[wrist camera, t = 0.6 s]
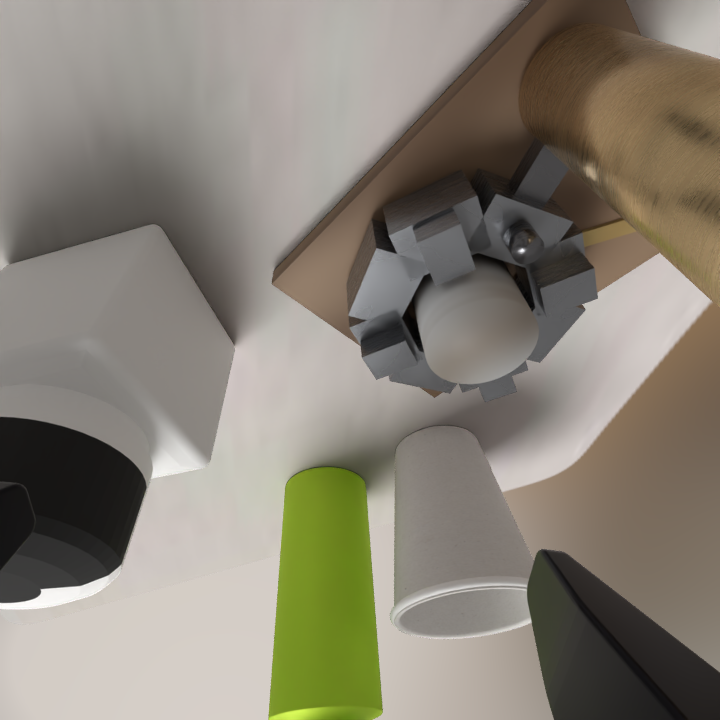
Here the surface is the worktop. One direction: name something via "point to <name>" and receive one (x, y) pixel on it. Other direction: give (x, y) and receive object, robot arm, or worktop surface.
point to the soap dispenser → (325, 603)
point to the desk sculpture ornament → (540, 211)
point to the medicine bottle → (100, 401)
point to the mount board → (469, 152)
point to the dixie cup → (454, 541)
